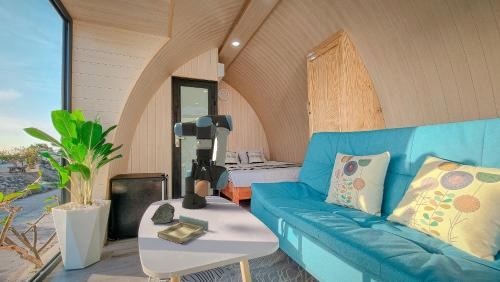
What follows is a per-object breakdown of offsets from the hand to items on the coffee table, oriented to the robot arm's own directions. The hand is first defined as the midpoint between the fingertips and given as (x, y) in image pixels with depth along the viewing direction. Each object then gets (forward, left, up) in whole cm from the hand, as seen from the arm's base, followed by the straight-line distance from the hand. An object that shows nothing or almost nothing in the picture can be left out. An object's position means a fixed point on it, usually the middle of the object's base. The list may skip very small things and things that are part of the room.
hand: (203, 193), depth 109 cm
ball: (0, 0, -1) cm, 1 cm away
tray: (+16, +1, -14) cm, 21 cm away
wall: (+7, 0, -14) cm, 16 cm away
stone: (+8, -18, -14) cm, 24 cm away
